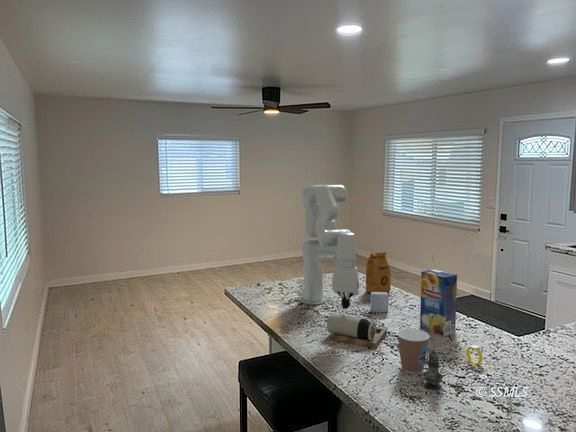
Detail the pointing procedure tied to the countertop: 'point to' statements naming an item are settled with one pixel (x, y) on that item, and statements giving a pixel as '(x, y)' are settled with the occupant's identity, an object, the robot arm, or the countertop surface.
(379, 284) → the coffee package
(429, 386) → the grey stone figurine
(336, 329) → the travel mug
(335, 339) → the walnut tray
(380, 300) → the medicine box
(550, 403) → the countertop surface
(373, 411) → the countertop surface
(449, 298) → the juice carton
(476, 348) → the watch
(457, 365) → the countertop surface
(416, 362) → the coffee cup
